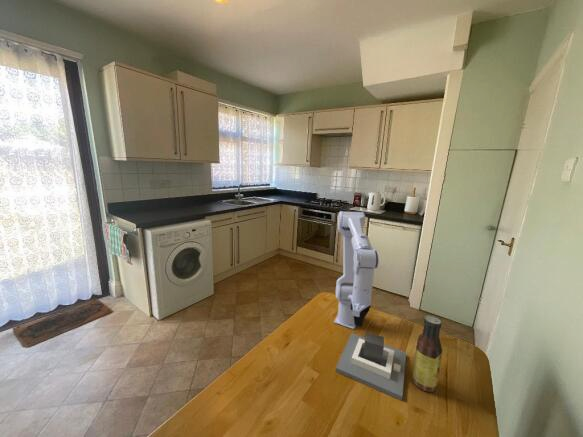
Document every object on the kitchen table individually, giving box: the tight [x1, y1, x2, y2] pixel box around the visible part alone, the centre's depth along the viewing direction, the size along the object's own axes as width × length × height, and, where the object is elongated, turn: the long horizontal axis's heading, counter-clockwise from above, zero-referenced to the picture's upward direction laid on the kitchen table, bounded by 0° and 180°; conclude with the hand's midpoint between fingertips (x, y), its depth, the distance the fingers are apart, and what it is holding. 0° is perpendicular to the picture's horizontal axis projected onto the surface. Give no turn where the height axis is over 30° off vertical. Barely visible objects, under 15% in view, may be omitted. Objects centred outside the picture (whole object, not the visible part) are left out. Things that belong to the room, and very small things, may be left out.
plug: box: [363, 331, 385, 364], centre depth 73 cm, size 4×5×7 cm
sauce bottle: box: [411, 315, 443, 393], centre depth 65 cm, size 6×6×20 cm
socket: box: [335, 332, 407, 401], centre depth 73 cm, size 18×18×3 cm
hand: (358, 324), depth 76 cm, fingers closed
